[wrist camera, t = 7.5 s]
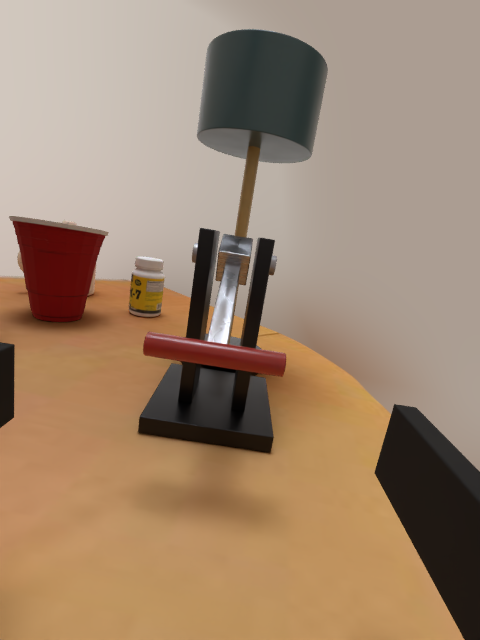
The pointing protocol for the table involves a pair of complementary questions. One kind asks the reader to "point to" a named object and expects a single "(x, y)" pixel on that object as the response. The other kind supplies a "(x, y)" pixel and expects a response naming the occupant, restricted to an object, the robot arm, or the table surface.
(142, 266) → the supplement bottle
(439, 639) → the table surface
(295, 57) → the desk lamp
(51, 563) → the table surface
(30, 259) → the plastic cup
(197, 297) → the switch base
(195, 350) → the switch lever
